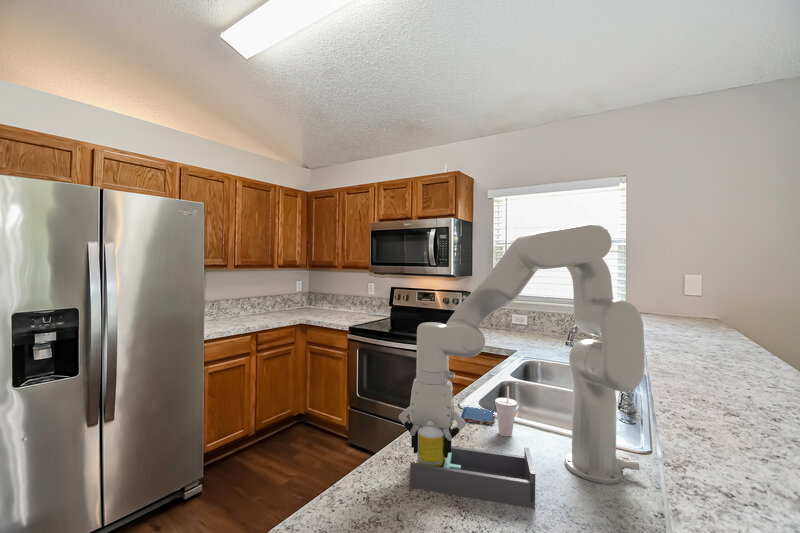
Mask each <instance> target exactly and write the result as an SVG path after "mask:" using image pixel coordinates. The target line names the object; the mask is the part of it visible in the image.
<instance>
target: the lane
mask: <svg viewBox="0 0 800 533" xmlns="http://www.w3.org/2000/svg"><path fill="white" fill-rule="evenodd" d="M451 452H452V464H456V465H461V470H458V469H452V468H445V467H439V466H432V465H426V464H419V463H418V462H417V461H416V462H412V461H411V462H410V464H409V466H410V467H409V468H410V469H409V470H410V471H409V472H410V473H409V488H411V489H416V490H421V491H427V492H428V491H429V492H435V493H439V494H440V493H441V494H445V495H450V496H451V495H452V496H458V497H464V498H469V499H475V500H481V501H486V502H494V503H499V504H505V505H510V506H517V507H521V508H527V509H528V508H529V509H534V510H535V509H536V470H535V467H534V463H533V459H532V455H531V451H530V448H529V447H524V452H523V453H524V454H523V455H521V454H520V455H519V454H512V453H511V454H510V453H506V452H505V453H504V452H498V451H497V452H496V451H489V450H483V449H476V448H468V447H460V446H453V445H451Z"/></svg>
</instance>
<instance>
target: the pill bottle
mask: <svg viewBox="0 0 800 533" xmlns="http://www.w3.org/2000/svg"><path fill="white" fill-rule="evenodd" d="M427 425H433V423H432V421H428V422H427ZM417 430H418V451H417V459H416V462H418V463H419V464H426V465H432V466H439V467H444V462H445V457H444V441H445V437H446V436H445V433H444V431H443V428H436V427H432V426H420V425H419V427H418V429H417Z"/></svg>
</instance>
